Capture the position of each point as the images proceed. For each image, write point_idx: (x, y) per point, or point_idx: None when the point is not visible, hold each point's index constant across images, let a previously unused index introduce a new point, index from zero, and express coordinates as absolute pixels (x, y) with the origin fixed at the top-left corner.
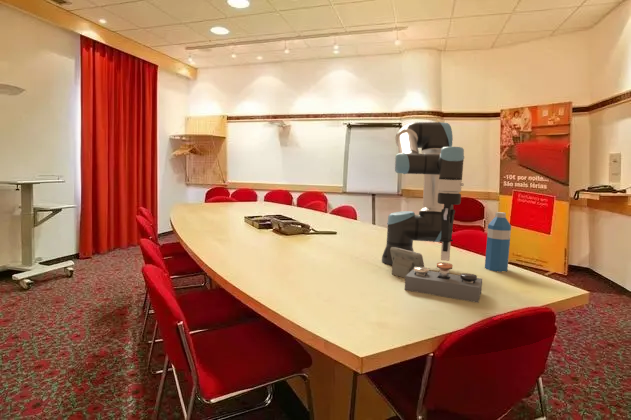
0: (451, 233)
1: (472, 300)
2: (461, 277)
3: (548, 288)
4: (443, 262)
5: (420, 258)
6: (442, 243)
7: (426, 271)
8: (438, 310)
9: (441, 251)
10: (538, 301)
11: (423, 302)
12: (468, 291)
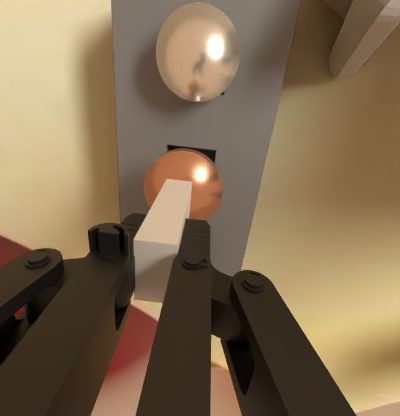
0: (232, 381)
1: None
2: None
3: None
4: (221, 184)
5: (355, 21)
6: (137, 236)
7: (175, 92)
8: (2, 154)
9: (155, 200)
10: (217, 350)
11: (37, 103)
12: None
